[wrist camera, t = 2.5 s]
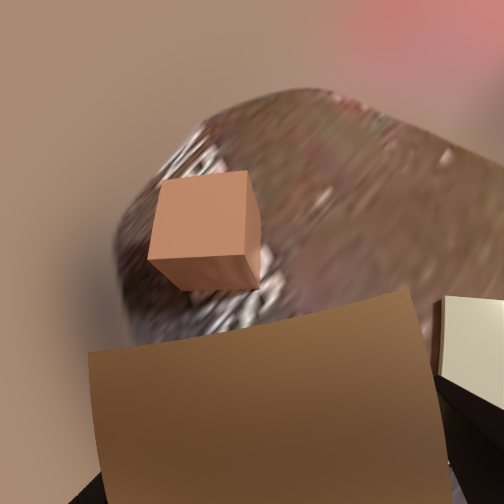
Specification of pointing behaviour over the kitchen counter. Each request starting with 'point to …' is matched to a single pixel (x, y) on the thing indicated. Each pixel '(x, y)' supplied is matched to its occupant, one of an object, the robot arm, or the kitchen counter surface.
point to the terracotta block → (208, 233)
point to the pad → (473, 346)
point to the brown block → (276, 413)
